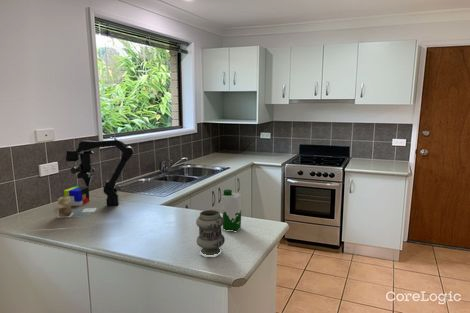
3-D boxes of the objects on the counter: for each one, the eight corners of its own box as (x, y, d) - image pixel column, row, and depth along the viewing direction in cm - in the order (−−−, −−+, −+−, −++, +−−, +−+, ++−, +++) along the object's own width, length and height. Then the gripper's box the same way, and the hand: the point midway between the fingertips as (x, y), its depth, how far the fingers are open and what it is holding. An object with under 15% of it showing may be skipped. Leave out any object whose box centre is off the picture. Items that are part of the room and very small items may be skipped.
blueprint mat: (97, 208, 203) (97, 207, 203) (90, 217, 189) (90, 215, 188) (64, 210, 200) (64, 209, 200) (55, 218, 186) (55, 217, 186)
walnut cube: (71, 213, 193) (71, 205, 192) (68, 216, 188) (68, 207, 187) (62, 213, 192) (61, 205, 191) (59, 216, 187) (58, 208, 186)
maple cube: (71, 205, 192) (70, 196, 191) (68, 207, 187) (67, 199, 186) (61, 205, 191) (60, 197, 190) (58, 208, 186) (57, 199, 186)
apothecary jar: (203, 245, 151) (202, 206, 148) (228, 248, 148) (228, 209, 145) (192, 257, 140) (191, 215, 137) (219, 260, 136) (218, 218, 134)
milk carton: (226, 224, 176) (226, 187, 173) (243, 227, 173) (243, 189, 170) (220, 231, 168) (219, 192, 165) (237, 233, 165) (237, 194, 161)
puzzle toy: (79, 207, 207) (78, 191, 205) (65, 206, 209) (63, 190, 207) (89, 202, 216) (88, 187, 215) (75, 201, 218) (74, 186, 217)
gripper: (76, 159, 209) (78, 183, 212) (66, 164, 191) (68, 191, 194) (95, 158, 211) (96, 182, 214) (87, 164, 193) (89, 190, 195)
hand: (87, 186), depth 204 cm, fingers closed
